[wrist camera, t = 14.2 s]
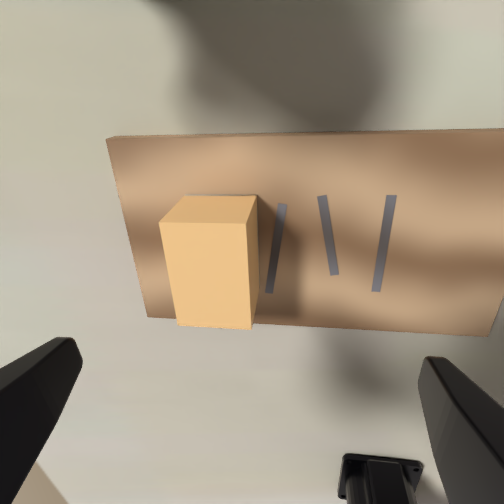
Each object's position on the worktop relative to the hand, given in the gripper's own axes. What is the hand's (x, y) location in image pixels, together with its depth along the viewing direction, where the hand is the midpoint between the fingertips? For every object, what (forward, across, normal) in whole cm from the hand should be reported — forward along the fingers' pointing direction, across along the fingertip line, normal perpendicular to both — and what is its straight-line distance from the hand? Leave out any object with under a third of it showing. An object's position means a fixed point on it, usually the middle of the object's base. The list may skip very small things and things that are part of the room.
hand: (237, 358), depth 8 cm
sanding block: (+11, +3, +2) cm, 12 cm away
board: (+12, -2, +2) cm, 13 cm away
